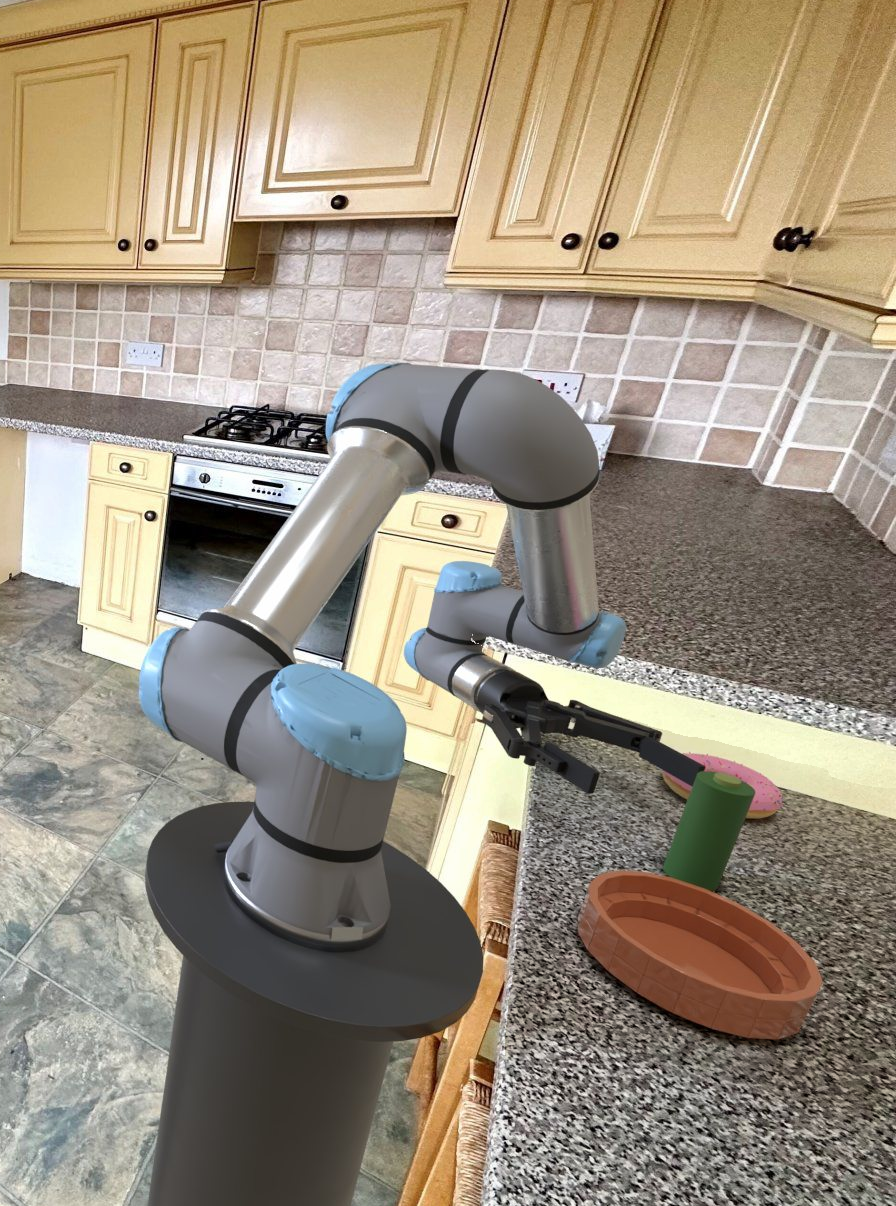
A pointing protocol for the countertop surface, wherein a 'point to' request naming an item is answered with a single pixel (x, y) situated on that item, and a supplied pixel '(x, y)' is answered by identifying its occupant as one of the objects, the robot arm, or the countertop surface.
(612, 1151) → the countertop surface
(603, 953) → the bowl
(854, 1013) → the countertop surface
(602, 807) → the countertop surface
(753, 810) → the doughnut
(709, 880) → the battery
